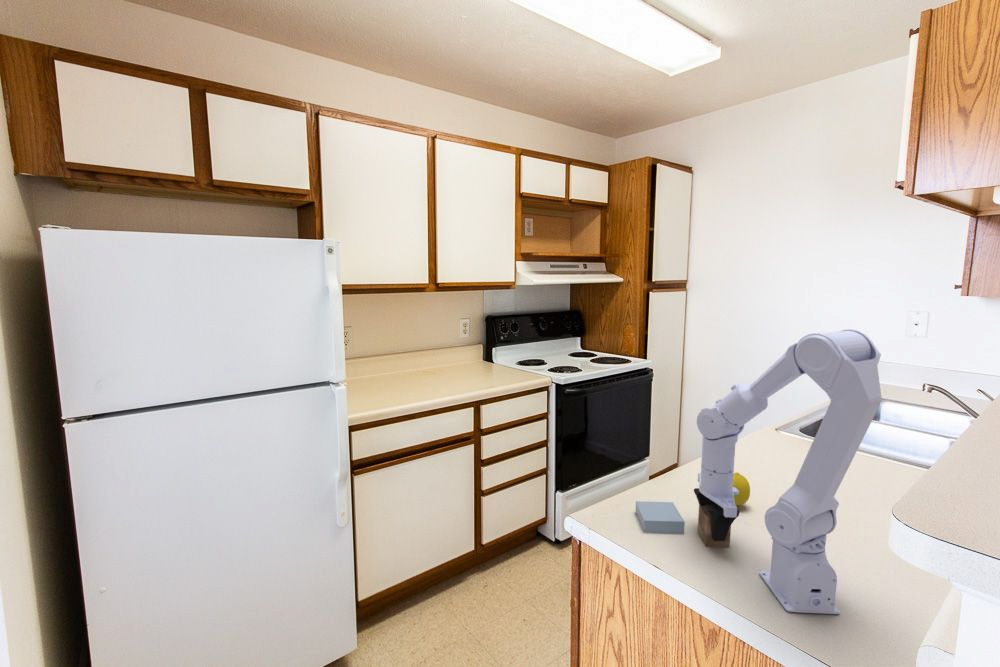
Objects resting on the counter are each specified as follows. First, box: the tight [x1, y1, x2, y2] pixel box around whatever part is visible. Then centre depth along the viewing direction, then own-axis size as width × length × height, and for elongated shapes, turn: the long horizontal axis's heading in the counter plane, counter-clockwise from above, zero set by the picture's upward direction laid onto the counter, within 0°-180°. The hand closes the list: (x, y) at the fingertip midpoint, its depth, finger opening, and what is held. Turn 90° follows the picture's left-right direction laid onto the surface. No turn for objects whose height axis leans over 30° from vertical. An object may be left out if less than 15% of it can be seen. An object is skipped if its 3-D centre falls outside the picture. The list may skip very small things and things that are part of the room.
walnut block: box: [697, 506, 732, 548], centre depth 91 cm, size 4×4×6 cm
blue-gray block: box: [635, 500, 686, 535], centre depth 98 cm, size 8×8×3 cm
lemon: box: [733, 472, 751, 507], centre depth 104 cm, size 6×6×8 cm
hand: (713, 532), depth 91 cm, fingers closed on walnut block, 4 cm apart
